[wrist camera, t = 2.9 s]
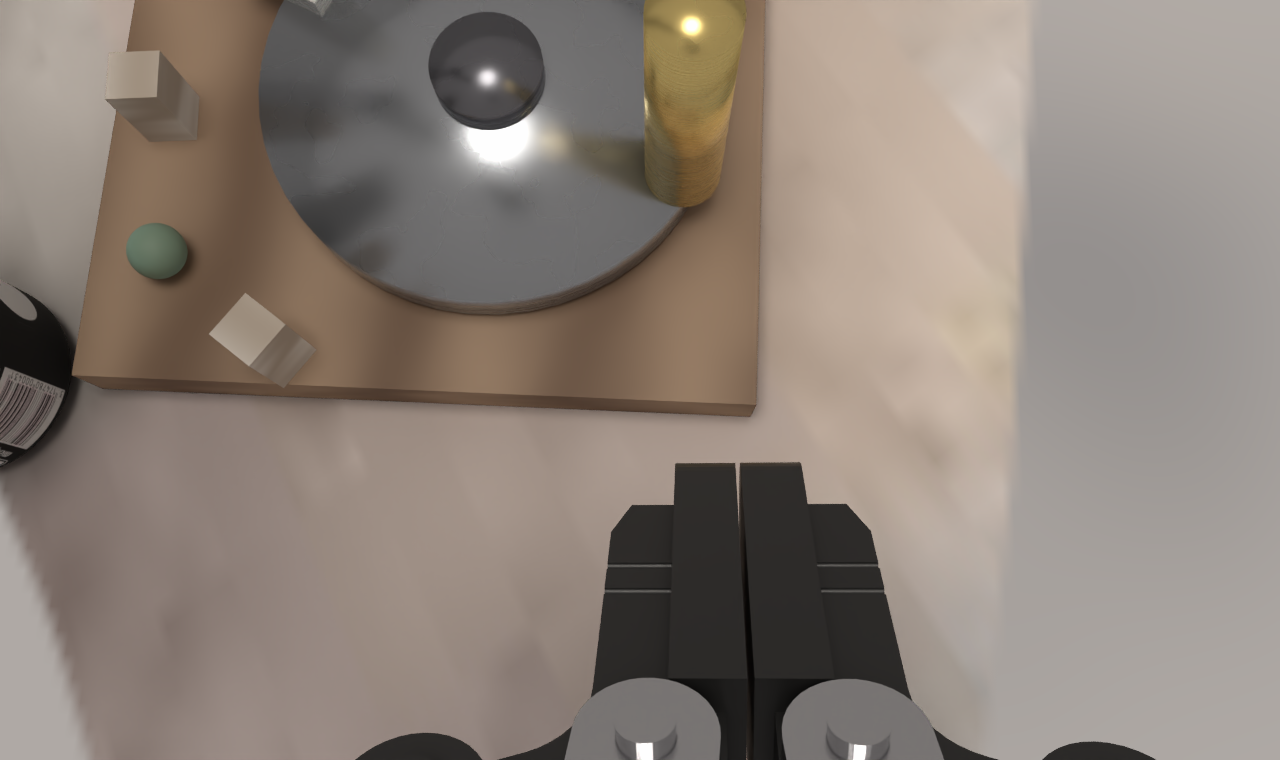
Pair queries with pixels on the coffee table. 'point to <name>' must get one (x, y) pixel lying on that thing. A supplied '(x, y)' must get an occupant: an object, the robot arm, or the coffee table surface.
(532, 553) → the coffee table surface
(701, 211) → the turntable
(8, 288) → the beverage can
